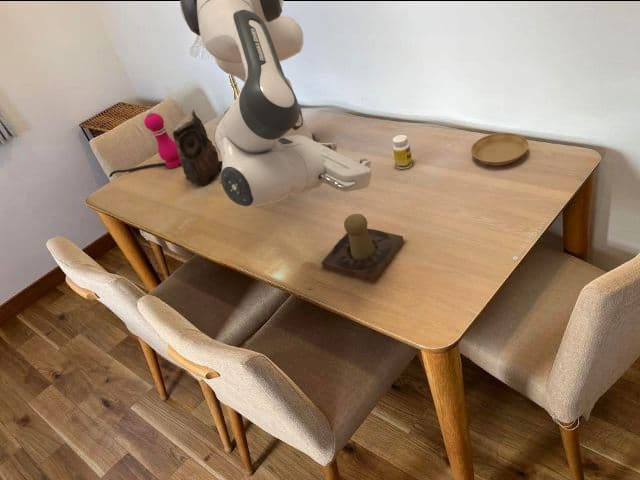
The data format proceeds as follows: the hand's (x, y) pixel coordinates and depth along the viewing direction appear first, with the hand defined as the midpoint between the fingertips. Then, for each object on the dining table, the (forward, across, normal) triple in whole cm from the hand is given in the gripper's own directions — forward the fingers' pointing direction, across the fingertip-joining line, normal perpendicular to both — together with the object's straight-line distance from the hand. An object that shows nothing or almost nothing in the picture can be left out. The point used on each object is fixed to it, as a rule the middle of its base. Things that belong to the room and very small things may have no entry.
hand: (350, 155), depth 104 cm
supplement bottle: (+37, +10, +14) cm, 41 cm away
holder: (+4, -6, +23) cm, 24 cm away
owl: (+11, +68, +35) cm, 77 cm away
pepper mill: (+12, +86, +38) cm, 95 cm away
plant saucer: (+49, -12, +5) cm, 51 cm away
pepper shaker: (+4, -6, +24) cm, 24 cm away
